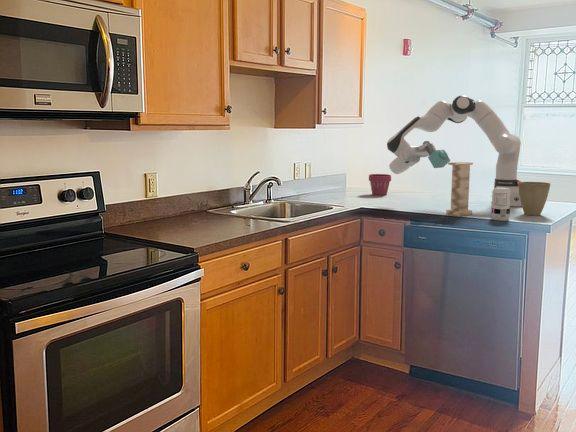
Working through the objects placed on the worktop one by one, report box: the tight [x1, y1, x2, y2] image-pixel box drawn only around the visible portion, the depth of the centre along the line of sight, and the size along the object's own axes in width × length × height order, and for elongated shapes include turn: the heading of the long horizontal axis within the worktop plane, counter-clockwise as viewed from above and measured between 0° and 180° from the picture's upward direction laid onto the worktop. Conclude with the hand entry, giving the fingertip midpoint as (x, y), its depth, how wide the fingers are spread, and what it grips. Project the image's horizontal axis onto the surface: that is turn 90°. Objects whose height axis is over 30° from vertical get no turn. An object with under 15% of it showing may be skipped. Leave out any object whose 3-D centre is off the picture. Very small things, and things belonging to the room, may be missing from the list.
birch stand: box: [445, 161, 474, 217], centre depth 293 cm, size 9×9×26 cm
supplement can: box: [490, 187, 511, 221], centre depth 278 cm, size 8×8×15 cm
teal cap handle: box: [422, 140, 451, 169], centre depth 304 cm, size 16×7×7 cm
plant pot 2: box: [518, 181, 551, 216], centre depth 292 cm, size 15×15×16 cm
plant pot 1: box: [368, 173, 392, 197], centre depth 372 cm, size 14×14×13 cm
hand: (429, 144), depth 307 cm, fingers closed on teal cap handle, 3 cm apart
